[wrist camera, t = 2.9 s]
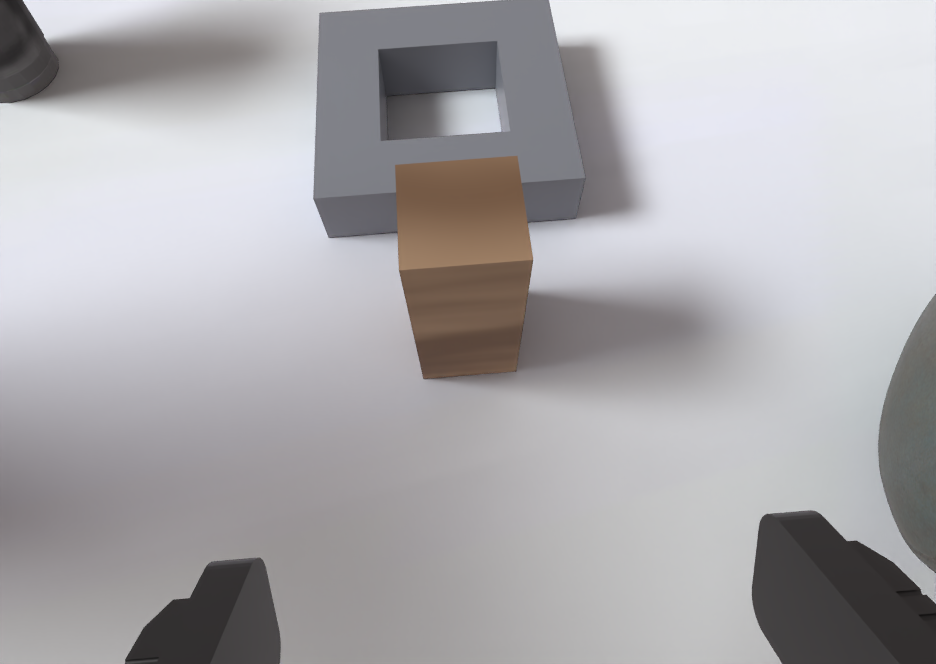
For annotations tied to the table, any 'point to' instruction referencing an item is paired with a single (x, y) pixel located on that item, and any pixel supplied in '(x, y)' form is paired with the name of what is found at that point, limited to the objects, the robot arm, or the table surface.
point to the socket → (439, 70)
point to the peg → (464, 262)
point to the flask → (912, 440)
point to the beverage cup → (23, 54)
